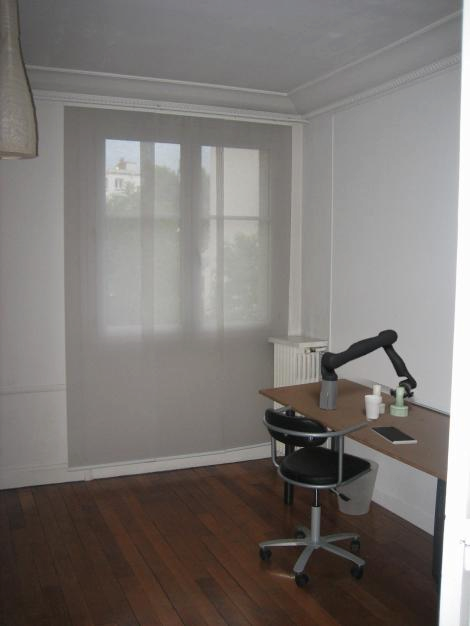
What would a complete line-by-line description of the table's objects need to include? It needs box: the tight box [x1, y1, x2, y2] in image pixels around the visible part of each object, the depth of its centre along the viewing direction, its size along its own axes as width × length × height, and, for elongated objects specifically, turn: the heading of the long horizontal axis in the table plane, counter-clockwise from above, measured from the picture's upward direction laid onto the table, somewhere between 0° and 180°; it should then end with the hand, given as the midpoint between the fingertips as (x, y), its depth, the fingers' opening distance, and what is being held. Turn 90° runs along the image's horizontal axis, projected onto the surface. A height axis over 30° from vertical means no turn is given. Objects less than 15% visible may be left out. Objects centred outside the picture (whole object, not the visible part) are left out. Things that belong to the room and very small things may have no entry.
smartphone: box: [370, 426, 418, 445], centre depth 333 cm, size 13×27×2 cm, turn 13°
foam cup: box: [364, 394, 383, 422], centre depth 362 cm, size 10×9×13 cm
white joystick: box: [372, 383, 386, 415], centre depth 374 cm, size 10×10×17 cm
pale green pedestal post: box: [389, 386, 409, 418], centre depth 369 cm, size 10×10×17 cm
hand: (399, 396), depth 366 cm, fingers closed on pale green pedestal post, 4 cm apart
